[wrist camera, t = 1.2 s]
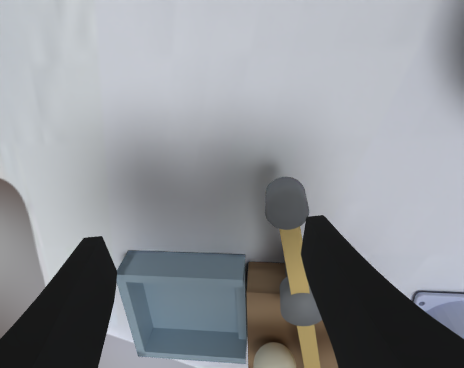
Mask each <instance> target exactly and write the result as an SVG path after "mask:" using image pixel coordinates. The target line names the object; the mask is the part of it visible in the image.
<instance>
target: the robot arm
mask: <svg viewBox="0 0 464 368" xmlns="http://www.w3.org/2000/svg"><path fill="white" fill-rule="evenodd" d="M301 258H302V262H303V266H304V270H305V274H306V278H307V281H308V284H309V286H310V289H311V292H312V294H313V297H314V300H315V302H316V305H317V308H318V310H319V313H320V315H321V318H322V321H323V323H324V326H325V328H326V331H327V334H328V336H329V339H330V342H331V345H332V348H333V351H334V354H335V357H336V361H337V365H338V368H464V294H450V293H428V292H420V293H418V294H417V295H416V296H415V299H414V302H412V301H411V300H410V299H409V298H407V297H406V296H405V295H404V294H403V293H401V292H400V291H399V290H398V289H397V288H396V287H394V286H393V285H392V284H391V283H390V282H389V281H388V280H387V279H385V278H384V277H383V276H382V275H381V274H380V273H379V272H378V271H377V270H376V269H375V268H374V267H373V266H371V265H370V264H369V263H368V262H367V261H366V260H365V259H364V258H363V257H362V256H361V255H360V254H359V253H358V252H357V251H356V250H355V249H354V248H353V247H352V246H351V244H350V243H349V242H348V241H347V240H346V239H345V238H344V237H343V236H342V235H341V234H340V233H339V232H338V231H337V229H336V228H335V227H334V226H333V225H332V224H331V223H330V222H329V221H328V220H327V218H326V217H325V216H323V215H321V216H311V217H306V223H305V230H304V236H303V242H302V248H301ZM116 281H117V270H116V268H115V266H114V263H113V261H112V258H111V256H110V254H109V251H108V249H107V247H106V244H105V242H104V240H103V237H102V236H99V237H88V238H84V239H83V240H82V241H81V242H80V243H79V245H78V246H77V247H76V249H75V250H74V251H73V253H72V254H71V255H70V257H69V258H68V259H67V261H66V262H65V263H64V264H63V266H62V267H61V268H60V270H59V271H58V272H57V274H56V275H55V276H54V277H53V279H52V280H51V281H50V282H49V284H48V285H47V286H46V287H45V289H44V290H43V291H42V292H41V294H40V295H39V296H38V297H37V299H36V300H35V301H34V302H33V303H32V304H31V305H30V306H29V308H28V309H27V310H26V311H25V312H24V314H23V315H22V316H21V317H20V318H19V319H18V320H17V321H16V323H15V324H14V325H13V326H12V327H11V328H10V329H9V330H8V331H7V332H6V333H5V335H4V336H3V337H2V338H1V339H0V368H98V364H99V361H100V357H101V353H102V349H103V345H104V341H105V337H106V333H107V329H108V325H109V320H110V316H111V312H112V308H113V304H114V298H115V290H116Z"/></svg>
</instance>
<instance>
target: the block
mask: <svg viewBox="0 0 464 368" xmlns="http://www.w3.org/2000/svg"><path fill="white" fill-rule="evenodd" d="M284 261H285V257H284ZM287 276H288V274H287V269H286V263H270V262H249V265H248V279H247V292H246V293H247V331H248V368H253V363H254V357H255V355H256V353H257V351H258V350H259V349H260V347H262V346H263V345H265V344H267V343H270V342H276V343H280V344H282V345H284V346H286V347H287V348H288V349H289V350H290V351H291V353H292V354H293V356H294V359H295V362H296V368H304V363H303V357H302V351H301V346H300V340H299V335H298V329H297V326H296V325H293V324H291V323H289V322H287V321H286V320H285V319H284V318H283V317H282V315H281V310H280V284H281V282H282V280H283V279H284V278H286V277H287ZM314 326H315V333H316V340H317V347H318V354H319V361H320V368H338V365H337V361H336V357H335V354H334V351H333V348H332V345H331V342H330V339H329V336H328V334H327V331H326V328H325V326H324V323H323V321H322V320H321V321H320V322H319V323H317V324H314Z"/></svg>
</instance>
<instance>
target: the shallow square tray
mask: <svg viewBox="0 0 464 368" xmlns="http://www.w3.org/2000/svg"><path fill="white" fill-rule="evenodd" d="M117 285H118V288H119V292H120V295H121V299H122V302H123V305H124V309H125V312H126V316H127V319H128V323H129V326H130V330H131V333H132V337H133V340H134V344H135V347H136V350H137V354H138V356H142V357H154V358H169V359H182V360H196V361H210V362H224V363H238V364H246V350H247V303H246V266H245V255H243V254H214V253H185V252H155V251H128V252H127V254H126V256H125V258H124V259H123V261H122V263H121V264H120V266H119V268H118V269H117Z"/></svg>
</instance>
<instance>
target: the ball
mask: <svg viewBox="0 0 464 368" xmlns="http://www.w3.org/2000/svg"><path fill="white" fill-rule="evenodd" d="M253 368H296V362H295V359H294V356H293V354H292V353H291V351H290V350H289V349H288V348H287V347H286V346H284V345H282V344H280V343H276V342H270V343H267V344H265V345H263V346H262V347H260V349H259V350H258V351H257V353H256V355H255V357H254V363H253Z"/></svg>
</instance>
